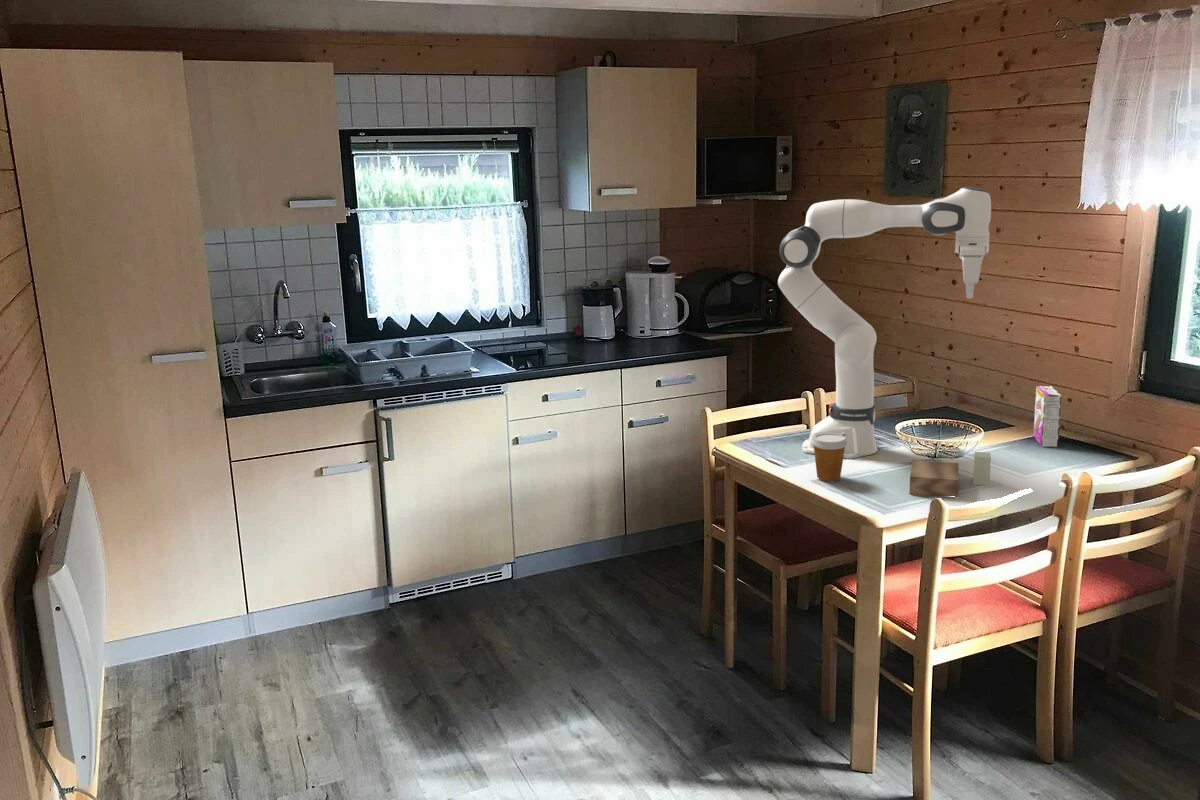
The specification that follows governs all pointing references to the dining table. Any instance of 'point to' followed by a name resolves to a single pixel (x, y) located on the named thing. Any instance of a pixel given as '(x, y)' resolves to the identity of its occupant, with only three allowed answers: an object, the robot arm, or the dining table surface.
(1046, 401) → the candy bar box
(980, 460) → the sage block
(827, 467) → the disposable coffee cup
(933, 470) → the walnut plinth
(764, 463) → the dining table surface
